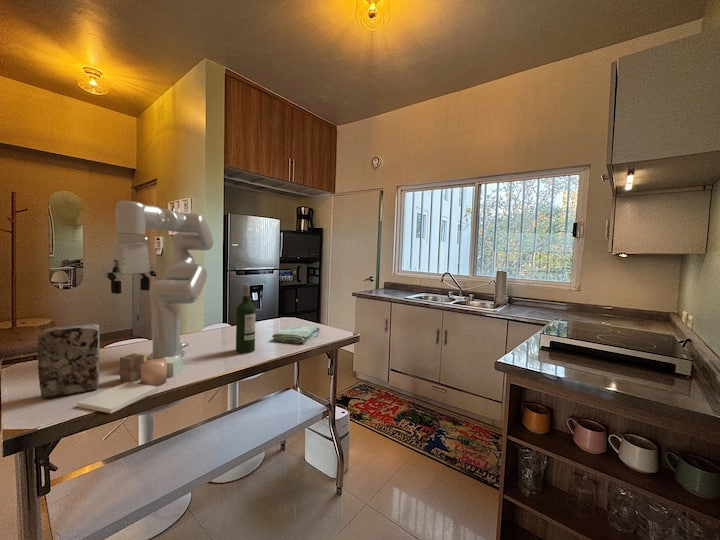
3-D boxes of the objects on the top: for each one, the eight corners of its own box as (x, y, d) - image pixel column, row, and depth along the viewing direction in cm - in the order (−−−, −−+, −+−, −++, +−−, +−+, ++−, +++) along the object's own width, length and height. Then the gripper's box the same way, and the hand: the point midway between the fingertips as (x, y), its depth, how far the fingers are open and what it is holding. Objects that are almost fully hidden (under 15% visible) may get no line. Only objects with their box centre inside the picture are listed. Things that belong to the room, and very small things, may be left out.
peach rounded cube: (154, 377, 102) (154, 357, 102) (171, 380, 101) (171, 359, 101) (135, 386, 96) (135, 364, 95) (152, 389, 94) (152, 367, 94)
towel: (270, 342, 148) (270, 332, 148) (289, 332, 169) (290, 323, 169) (304, 346, 144) (304, 335, 144) (320, 335, 165) (320, 325, 165)
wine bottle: (250, 354, 129) (251, 285, 128) (232, 353, 130) (233, 284, 128) (257, 348, 137) (258, 283, 136) (240, 347, 137) (241, 282, 136)
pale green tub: (166, 370, 109) (166, 356, 109) (182, 370, 110) (183, 357, 109) (155, 376, 103) (155, 362, 103) (173, 377, 104) (173, 363, 103)
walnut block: (133, 376, 103) (133, 353, 103) (143, 377, 102) (143, 354, 102) (120, 381, 99) (120, 357, 98) (130, 383, 98) (130, 359, 97)
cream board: (127, 385, 96) (127, 381, 96) (157, 390, 93) (157, 386, 93) (77, 406, 82) (77, 402, 82) (111, 413, 79) (110, 408, 79)
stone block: (100, 382, 97) (99, 321, 96) (100, 390, 92) (99, 326, 91) (40, 394, 88) (39, 327, 88) (37, 403, 83) (36, 332, 82)
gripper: (146, 241, 107) (146, 288, 108) (93, 237, 91) (94, 294, 91) (163, 241, 106) (163, 289, 106) (112, 238, 89) (113, 295, 90)
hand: (131, 291), depth 99 cm, fingers open, 9 cm apart
